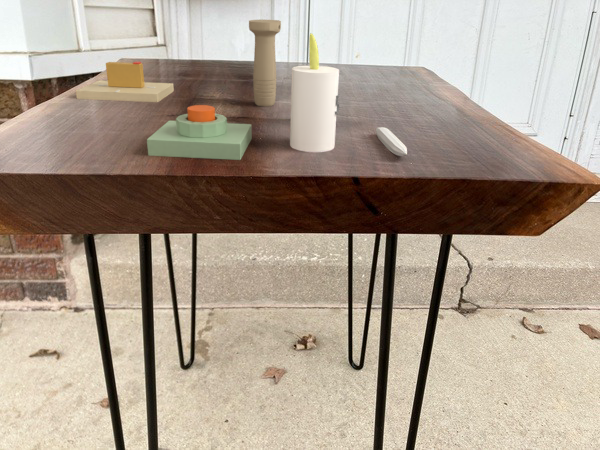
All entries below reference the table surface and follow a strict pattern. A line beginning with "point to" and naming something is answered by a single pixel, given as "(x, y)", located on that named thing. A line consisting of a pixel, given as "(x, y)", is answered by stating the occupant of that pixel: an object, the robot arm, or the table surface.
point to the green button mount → (200, 139)
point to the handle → (264, 60)
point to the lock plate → (125, 92)
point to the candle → (314, 104)
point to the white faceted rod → (391, 141)
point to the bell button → (201, 113)
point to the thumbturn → (125, 74)
